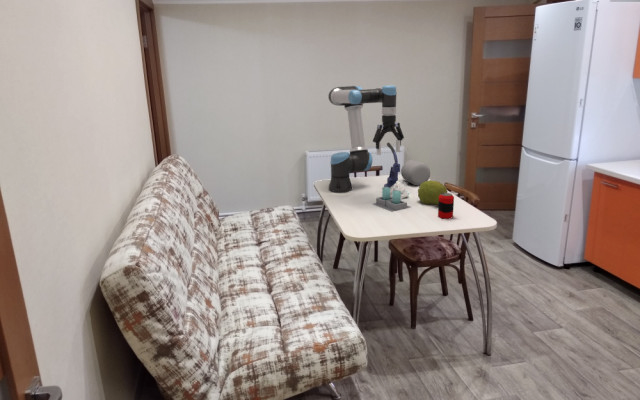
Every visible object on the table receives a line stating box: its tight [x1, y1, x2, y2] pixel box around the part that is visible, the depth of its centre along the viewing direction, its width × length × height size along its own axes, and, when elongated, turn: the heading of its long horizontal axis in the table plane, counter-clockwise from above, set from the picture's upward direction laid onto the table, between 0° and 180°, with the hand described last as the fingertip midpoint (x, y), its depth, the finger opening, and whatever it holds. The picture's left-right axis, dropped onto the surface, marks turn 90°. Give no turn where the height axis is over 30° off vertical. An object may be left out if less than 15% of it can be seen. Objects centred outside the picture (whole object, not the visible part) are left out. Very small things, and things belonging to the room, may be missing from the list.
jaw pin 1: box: [381, 186, 390, 201], centre depth 263 cm, size 4×4×9 cm
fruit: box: [417, 179, 448, 206], centre depth 262 cm, size 16×14×15 cm
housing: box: [372, 196, 412, 213], centre depth 260 cm, size 18×14×4 cm
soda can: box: [437, 192, 455, 220], centre depth 241 cm, size 8×8×12 cm
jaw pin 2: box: [392, 190, 402, 204], centre depth 255 cm, size 4×4×9 cm
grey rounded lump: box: [400, 159, 431, 187], centre depth 310 cm, size 19×15×25 cm
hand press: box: [383, 142, 401, 188], centre depth 295 cm, size 19×9×28 cm, turn 10°
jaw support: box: [390, 182, 410, 200], centre depth 275 cm, size 12×9×10 cm
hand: (388, 153), depth 261 cm, fingers open, 13 cm apart
